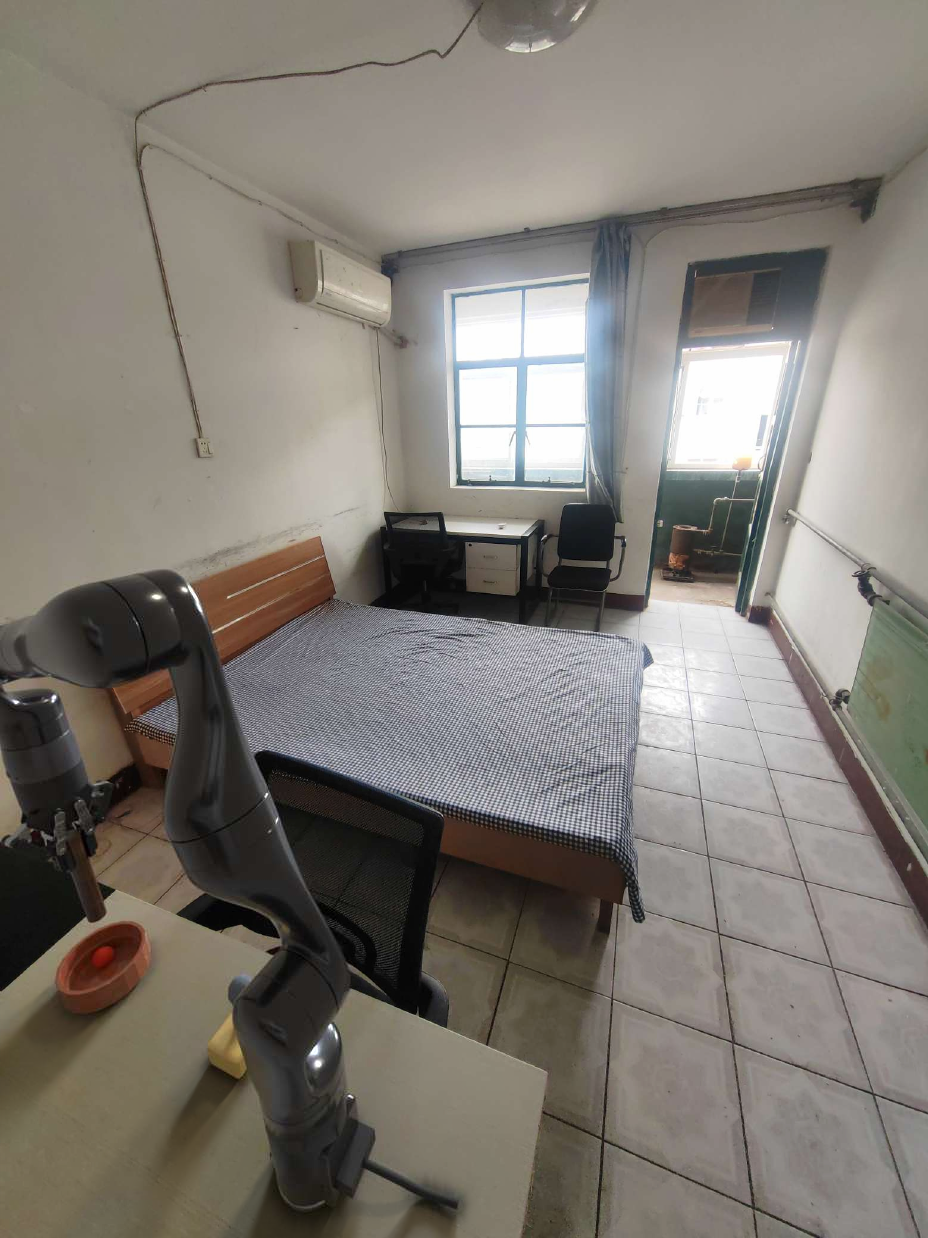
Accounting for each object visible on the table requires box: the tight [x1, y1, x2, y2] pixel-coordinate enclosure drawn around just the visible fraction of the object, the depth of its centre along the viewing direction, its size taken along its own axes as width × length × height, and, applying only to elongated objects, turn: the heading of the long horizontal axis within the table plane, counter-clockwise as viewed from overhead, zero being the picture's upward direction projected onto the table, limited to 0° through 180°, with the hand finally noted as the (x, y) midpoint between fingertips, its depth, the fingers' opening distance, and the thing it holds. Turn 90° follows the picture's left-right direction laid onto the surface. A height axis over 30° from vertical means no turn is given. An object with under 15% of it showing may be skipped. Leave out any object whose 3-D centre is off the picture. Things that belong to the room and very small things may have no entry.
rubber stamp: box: [206, 973, 253, 1080], centre depth 69 cm, size 10×6×12 cm, turn 160°
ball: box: [92, 946, 114, 968], centre depth 80 cm, size 3×3×3 cm
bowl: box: [54, 920, 152, 1015], centre depth 78 cm, size 12×12×5 cm
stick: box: [65, 828, 108, 924], centre depth 70 cm, size 2×2×16 cm
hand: (79, 861), depth 69 cm, fingers closed on stick, 2 cm apart
